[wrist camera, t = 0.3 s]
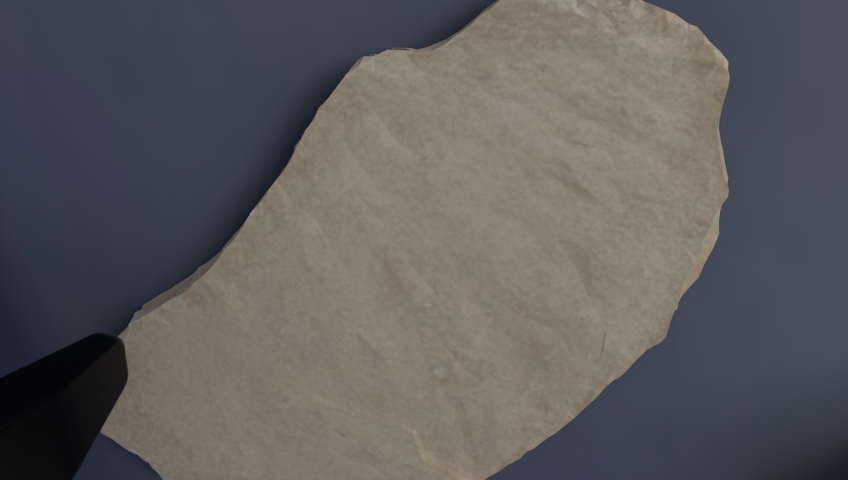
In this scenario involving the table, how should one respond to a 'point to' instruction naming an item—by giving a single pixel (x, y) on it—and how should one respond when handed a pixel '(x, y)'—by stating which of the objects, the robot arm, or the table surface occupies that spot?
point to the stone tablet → (445, 256)
